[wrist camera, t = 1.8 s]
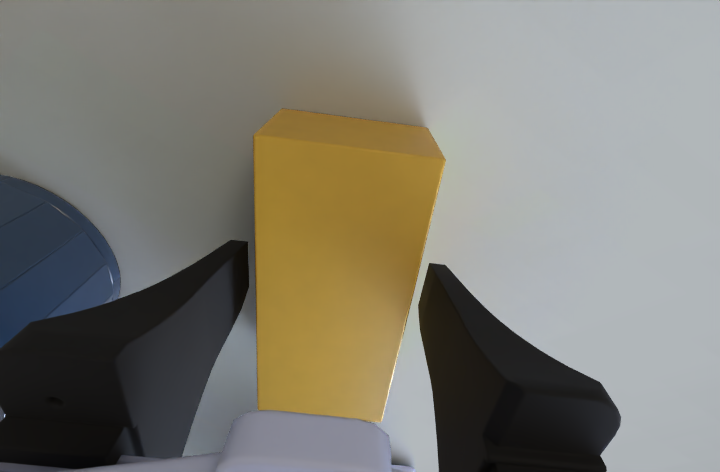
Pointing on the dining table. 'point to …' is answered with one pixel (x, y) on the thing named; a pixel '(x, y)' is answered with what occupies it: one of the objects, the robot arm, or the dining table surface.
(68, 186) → the dining table surface
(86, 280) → the cup
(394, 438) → the dining table surface
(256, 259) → the yellow rectangular block
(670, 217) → the dining table surface
